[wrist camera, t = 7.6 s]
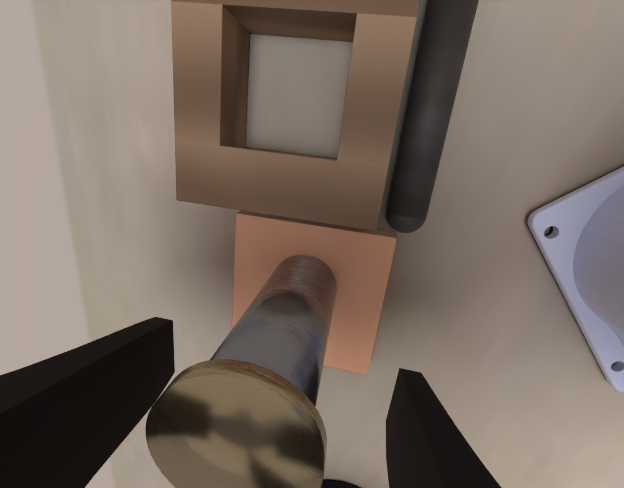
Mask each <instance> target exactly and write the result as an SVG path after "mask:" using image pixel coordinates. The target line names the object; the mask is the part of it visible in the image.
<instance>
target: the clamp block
mask: <svg viewBox="0 0 624 488" xmlns="http://www.w3.org/2000/svg"><path fill="white" fill-rule="evenodd" d="M478 1H479V0H428V2H427V7H426V12H425V18H424V23H423V28H422V33H421V38H420V43H419V48H418V53H417V58H416V63H415V68H414V73H413V78H412V83H411V88H410V94H409V99H408V104H407V109H406V114H405V119H404V124H403V129H402V134H401V139H400V144H399V149H398V154H397V159H396V165H395V170H394V175H393V180H392V185H391V190H390V195H389V200H388V205H387V210H386V218H387V221H388V223H389V225H390V226H391V227H392V228H393V229H395V230H396V231H399V232H402V233H409V232H413V231H415V230H417V229H419V228H420V227H421V226H422V225H423V223H424V221H425V219H426V216H427V212H428V208H429V203H430V199H431V195H432V191H433V187H434V183H435V179H436V174H437V170H438V166H439V162H440V158H441V154H442V150H443V145H444V141H445V137H446V133H447V129H448V125H449V121H450V116H451V112H452V108H453V104H454V100H455V96H456V92H457V87H458V83H459V79H460V75H461V71H462V67H463V63H464V59H465V54H466V50H467V46H468V42H469V38H470V34H471V30H472V25H473V21H474V17H475V13H476V9H477V5H478ZM419 4H420V0H171V8H172V45H173V83H174V120H175V157H176V195H177V200H179V201H185V202H192V203H198V204H205V205H211V206H218V207H224V208H231V209H237V210H244V211H250V212H257V213H263V214H270V215H276V216H283V217H289V218H296V219H302V220H309V221H315V222H322V223H328V224H335V225H342V226H348V227H355V228H361V229H368V230H374V231H376V230H377V224H378V219H379V214H380V209H381V203H382V198H383V193H384V188H385V182H386V177H387V172H388V167H389V161H390V156H391V151H392V146H393V140H394V135H395V130H396V125H397V119H398V114H399V109H400V104H401V98H402V93H403V88H404V83H405V78H406V72H407V67H408V62H409V57H410V51H411V46H412V41H413V36H414V30H415V25H416V20H417V15H418V9H419ZM250 34H263V35H276V36H289V37H302V38H315V39H328V40H341V41H353V47H352V55H351V62H350V69H349V76H348V84H347V91H346V98H345V106H344V113H343V120H342V127H341V135H340V142H339V149H338V157H337V159H336V158H328V157H320V156H312V155H304V154H296V153H288V152H280V151H273V150H265V149H257V148H249V147H245V138H246V115H247V92H248V69H249V45H250Z"/></svg>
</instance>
